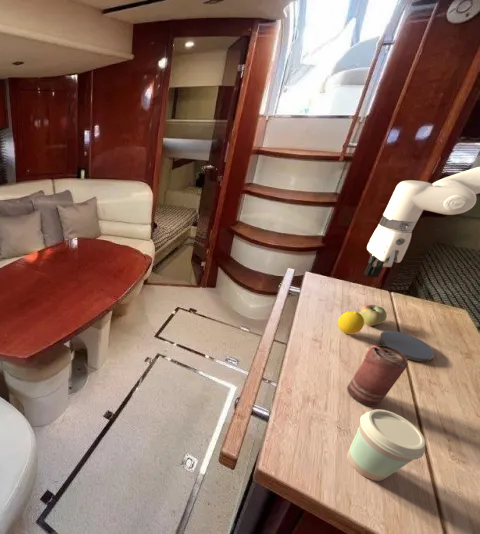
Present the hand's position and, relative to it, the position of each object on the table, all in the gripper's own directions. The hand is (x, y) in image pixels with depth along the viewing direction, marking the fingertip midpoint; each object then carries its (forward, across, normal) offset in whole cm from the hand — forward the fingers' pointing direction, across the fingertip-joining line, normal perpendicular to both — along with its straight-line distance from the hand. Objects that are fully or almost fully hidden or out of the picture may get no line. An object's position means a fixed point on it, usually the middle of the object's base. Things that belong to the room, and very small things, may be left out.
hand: (370, 275), depth 100 cm
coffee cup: (+10, -62, +25) cm, 67 cm away
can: (+10, -44, +18) cm, 48 cm away
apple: (+10, -12, +2) cm, 16 cm away
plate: (+10, -23, -1) cm, 25 cm away
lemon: (+10, -20, +12) cm, 25 cm away
